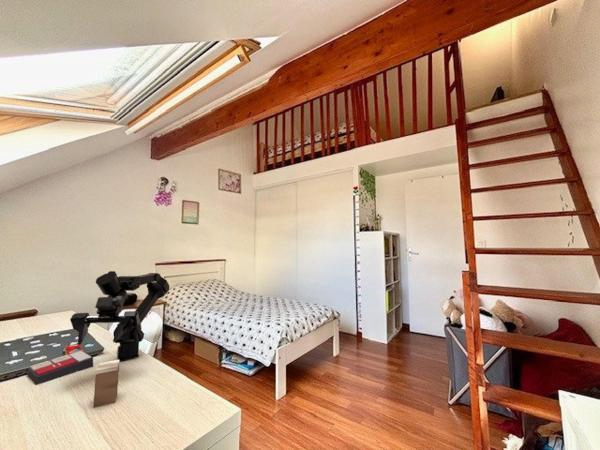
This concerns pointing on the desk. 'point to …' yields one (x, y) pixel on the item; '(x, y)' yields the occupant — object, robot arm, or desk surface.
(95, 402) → the beige tall block
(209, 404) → the desk surface
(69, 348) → the race car
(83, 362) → the calculator
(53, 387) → the desk surface
